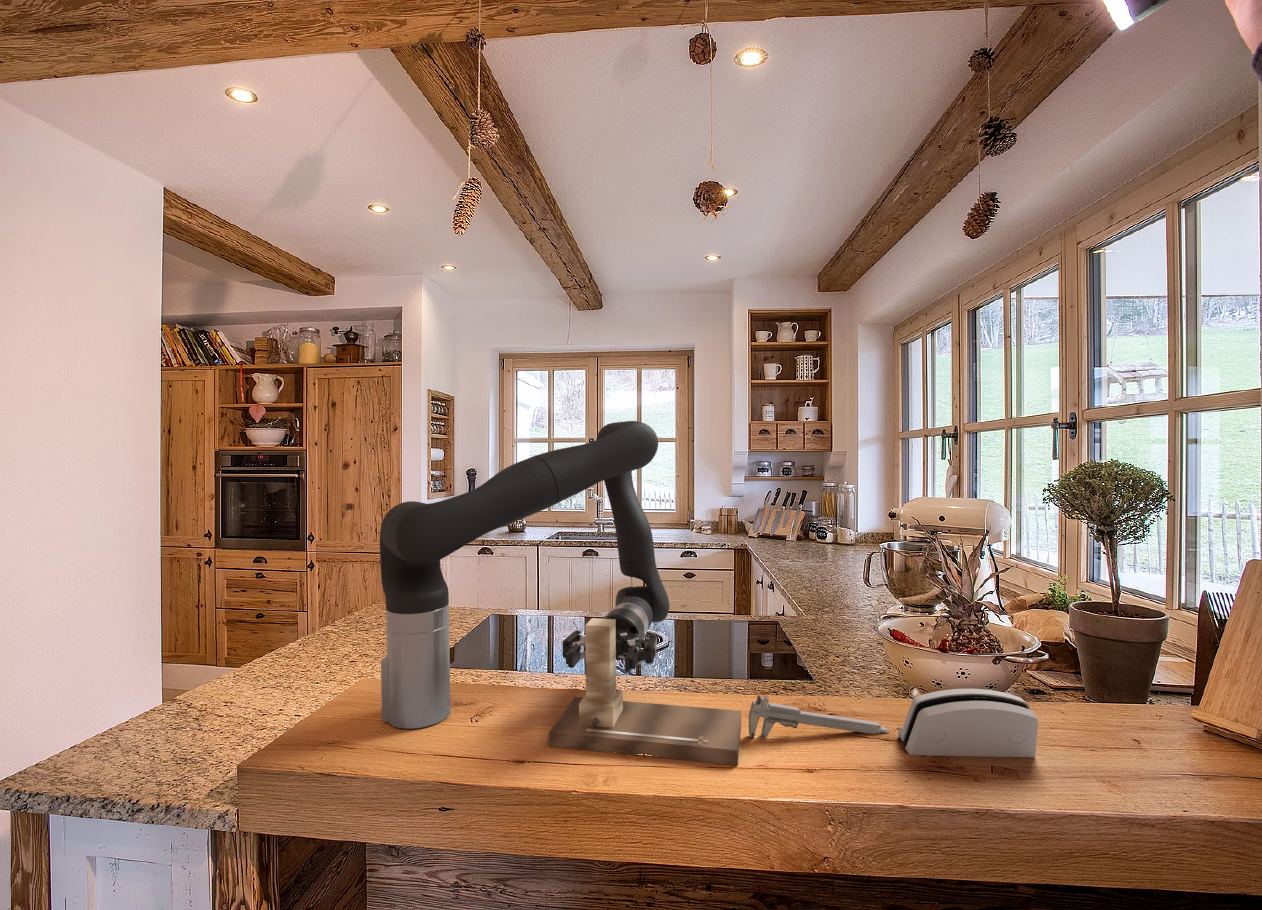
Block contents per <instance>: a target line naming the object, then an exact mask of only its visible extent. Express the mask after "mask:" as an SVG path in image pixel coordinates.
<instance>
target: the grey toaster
mask: <svg viewBox="0 0 1262 910" xmlns="http://www.w3.org/2000/svg"><path fill="white" fill-rule="evenodd" d="M1037 717H1038V716H1036V713H1035V712H1034V710H1032V709H1030V705H1029V704H1028V703H1027V702H1026V701H1025V700H1024V699H1023V698H1022V697H1020V696H1016V695H1014V694H1010V693H1008V692H1003V691H999V690H998V691H997V690H992V689H983V688H952V689H944V690H937V691H932V692H928V693H923V694H920V695H917V696H915V697H914V698H913V699H912V701H911V703H910V706H909V709H908V711H907V715H906V718H905V721H904V723H903V726H900V727H899V728H898V733H897V739H898V738H901V739H900V740H901V742H905V743H906V746H905V750H906V752H907V753H908V754H909V755H910V756H935V757H936V756H941V757H943V756H945V757H990V758H991V757H995V758H996V757H997V758H1036V750H1037V741H1038V731H1039V730H1038V729H1039V720H1038V718H1037Z"/></svg>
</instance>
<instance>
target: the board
mask: <svg viewBox="0 0 1262 910" xmlns="http://www.w3.org/2000/svg"><path fill="white" fill-rule="evenodd" d="M582 699H583V697H581V696H580V697H579V696H574V697H573V699H572V700H571V701H570V702H569V704H568V705H567V707H566V708H565V709H564V711H563V712H562V713H561V715H560V716H559V717H558V719H557V721H555V723H554V724H553V725H552V727H551V728H550V730H549V731H548V747H553V748H563V749H573V750H582V749H586V750H585V751H591V750H594V751H593V752H601V751H606V752H605V753H611V752H616V753H615V754H621V753H623V754H622V755H630V754H643V755H645V754H647V755H652V756H658V757H657V758H660V757H664V758H663V759H670V760H671V759H672V760H681V761H689V762H700V763H709V764H710V763H711V764H721V765H727V766H728V765H729V766H739V757H740V756H739V753H740V744H741V743H740V742H741V731H742V710H736V709H735V710H734V709H723V708H713V707H700V706H688V705H676V704H664V703H652V702H651V703H650V702H640V701H639V702H638V701H627V700H626V701H625V700H623V710H622V712H621V714H620V716H619V718H618V719H617V721H616V723H615V725H614V727H613V728H611V727H600V726H590V725H579V703H580V702H581V700H582Z"/></svg>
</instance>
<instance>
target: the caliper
mask: <svg viewBox="0 0 1262 910" xmlns="http://www.w3.org/2000/svg"><path fill="white" fill-rule="evenodd" d="M769 701H770V698H769V697H768V695H765V696H764V697H763V698H762V696H761V695H760V694H759V693H758V694H757V697H756V701H754V700H752V702H751V706H750V707H749V708H750V709H749V713H748V734H749V736H750V737H751V738H752V739H755V735H756V730H757V727H758V724H759V720H760V718H763V723H762V727H761V733H760V736H761V735H762V736H761V737H763V738H762V739H767V738H768V736H769V734H770V732H771V731H772V730H773V727H774V725H775V723H779V724H780V725H782V726H784V727H786V728H788V727H791V728H793V729H797V728H798V725H799V724H801V725H807V726H808V725H809V726H815V727H816V726H817V727H823V728H829V729H836V730H842V731H850V732H855V733H859V734H860V733H861V734H867V735H870V734H871V735H872V734H873V735H875V734H881V733H884V734H889V733H890V731H889V730H888V729H887V728H886V727H885V726H882V725H881V724H880V723H879V722H876V721H869V720H863V719H857V718H849V717H844V716H839V715H838V716H837V715H829V714H825V713H824V714H823V713H816V712H810V711H803V710H800V708H799V707H796V706H790V705H784V704H779V703H773V702H769Z"/></svg>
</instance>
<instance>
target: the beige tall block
mask: <svg viewBox="0 0 1262 910" xmlns="http://www.w3.org/2000/svg"><path fill="white" fill-rule="evenodd" d="M584 628H585V633H584V634H585V635H584V636H585V640H586V658H585V694H584V696H583V697H582V698H583V699H582V700H581V702H580V703H579V725H590V726H600V727H611V728H613V727H614V725H615V723H616V721H617V719H618V718H619V716H620V714H621V712H622V710H623V701H624V700H623V699H624V698H623V697H624V696H623V692H624V691H623V689H617V660H616V619H604V618H600V617H599V618H595V617H592V618H591V619H590V620H589V621H588V622H587V623H586V624H585V627H584Z"/></svg>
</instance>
